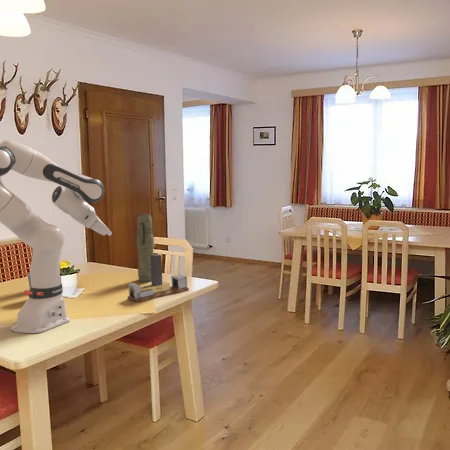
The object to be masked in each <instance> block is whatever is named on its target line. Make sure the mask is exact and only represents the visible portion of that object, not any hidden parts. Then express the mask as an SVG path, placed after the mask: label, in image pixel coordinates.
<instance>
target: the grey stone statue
mask: <svg viewBox="0 0 450 450" xmlns="http://www.w3.org/2000/svg"><path fill="white" fill-rule="evenodd" d="M136 248H137V252H138V257H137V258H138V268H137V276H138V282H143V283H150V282H152V281H151V255H154V248H155V238H154V234H153V219H152V215H150V214H149V213H141V214H139V215H138V216H137V237H136Z"/></svg>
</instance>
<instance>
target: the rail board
mask: <svg viewBox="0 0 450 450" xmlns="http://www.w3.org/2000/svg"><path fill="white" fill-rule="evenodd" d="M189 290H190V289H189V287H188V286H187V288H183V289H178V286H177V287H172V285H170V291H165V292H161V293H156V294H154V295H152V296H148V297H144V298H139V299H135V297H134V296H132V297H129V295H127V299H128V300H130V301H132V302H135V303H140V302H145V301H148V300H147V299H149V300H152V299H157V298H162V297H165V296H166V297H167V296H170V295H174V294H178V293H183V292H188V291H189ZM144 300H145V301H144Z"/></svg>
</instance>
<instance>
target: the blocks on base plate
mask: <svg viewBox="0 0 450 450" xmlns="http://www.w3.org/2000/svg"><path fill="white" fill-rule="evenodd" d="M162 259H163V258H162V254H160V253H159V254H158V253H156V254H154V253H153V255H151V281H150V282H151V284H148V285H144V286H140V292H143V291H147V290H152V289H153V290H154V294H156V293H161V292H165V291H170V287H171V285H170V284H171V283H170V282H167V281H164V282H163V261H162ZM133 296H134V297H135V288H133Z"/></svg>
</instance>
